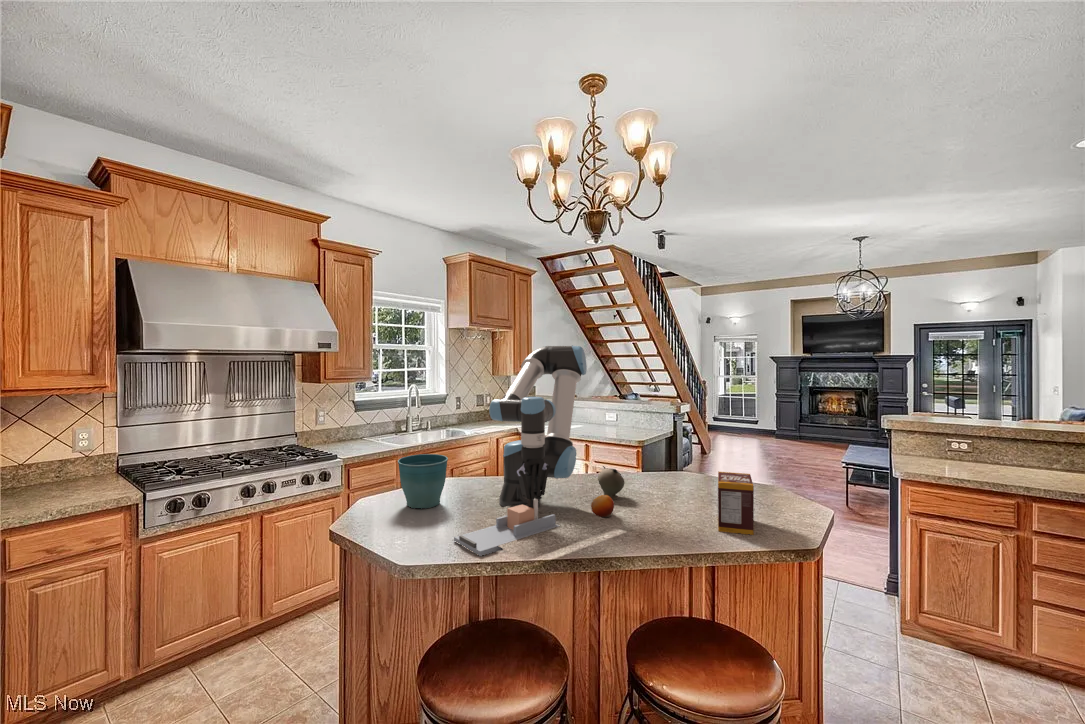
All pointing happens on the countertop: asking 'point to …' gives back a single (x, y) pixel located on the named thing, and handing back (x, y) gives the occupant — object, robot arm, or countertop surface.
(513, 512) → the block
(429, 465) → the flower pot
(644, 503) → the countertop surface
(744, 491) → the supplement box
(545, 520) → the chute
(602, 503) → the fruit
